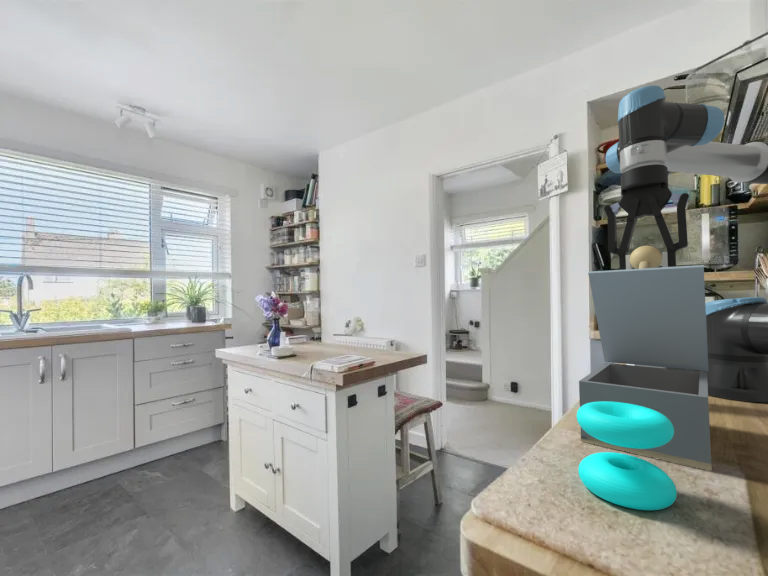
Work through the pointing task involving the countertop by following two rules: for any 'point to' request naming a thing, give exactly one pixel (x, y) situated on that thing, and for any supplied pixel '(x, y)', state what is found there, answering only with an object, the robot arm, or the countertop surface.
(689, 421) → the carton
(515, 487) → the countertop surface
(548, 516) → the countertop surface
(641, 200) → the robot arm
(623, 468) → the donuts
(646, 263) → the flap
